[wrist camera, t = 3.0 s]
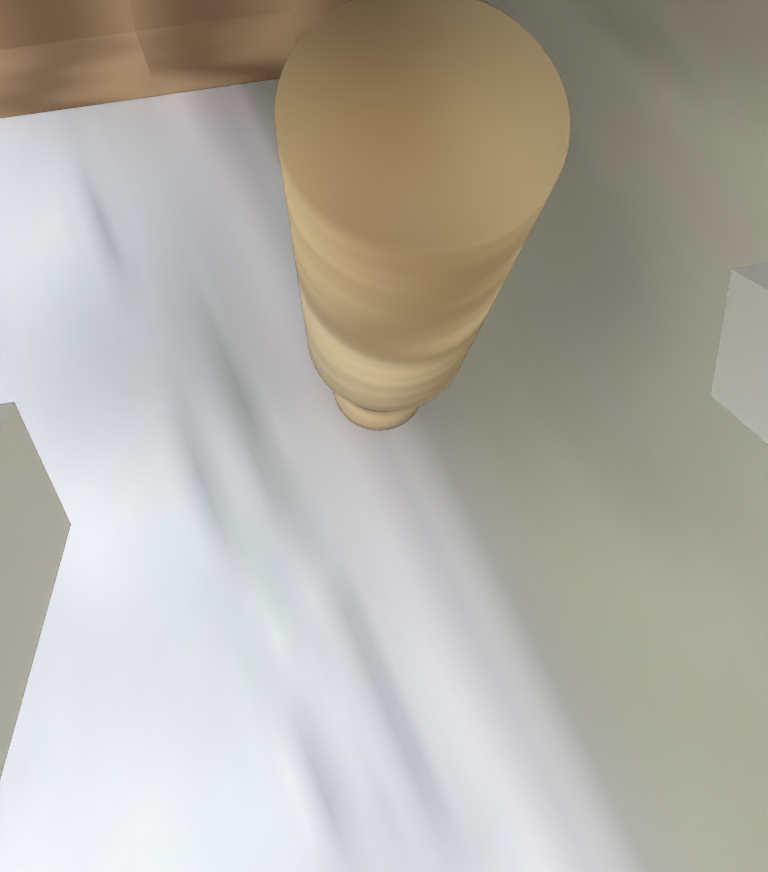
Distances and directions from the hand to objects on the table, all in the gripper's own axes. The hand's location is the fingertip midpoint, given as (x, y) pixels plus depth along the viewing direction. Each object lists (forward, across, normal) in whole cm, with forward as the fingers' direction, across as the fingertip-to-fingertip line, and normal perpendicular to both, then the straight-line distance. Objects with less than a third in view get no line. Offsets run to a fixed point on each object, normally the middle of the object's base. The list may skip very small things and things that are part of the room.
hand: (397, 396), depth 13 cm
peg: (+9, +1, -5) cm, 10 cm away
